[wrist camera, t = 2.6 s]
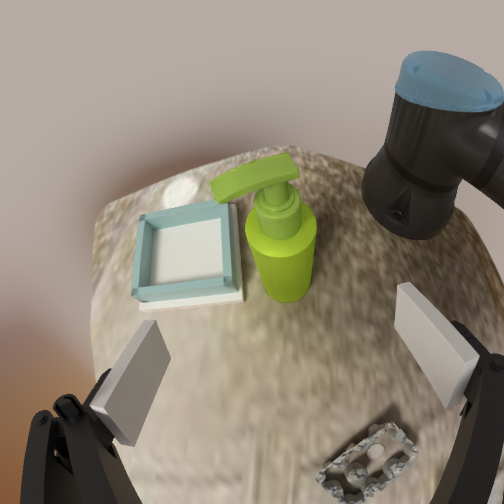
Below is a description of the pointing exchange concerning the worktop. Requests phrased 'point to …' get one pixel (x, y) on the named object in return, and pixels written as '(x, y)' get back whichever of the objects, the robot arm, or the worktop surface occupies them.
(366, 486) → the egg carton
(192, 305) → the cradle
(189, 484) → the worktop surface
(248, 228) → the soap dispenser
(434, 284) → the worktop surface
